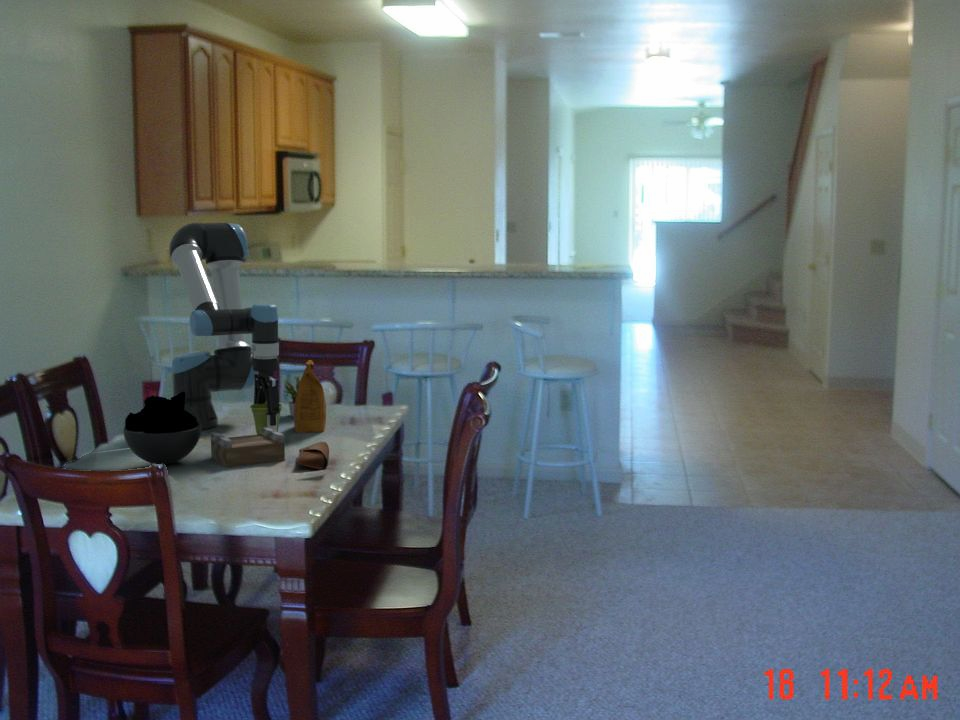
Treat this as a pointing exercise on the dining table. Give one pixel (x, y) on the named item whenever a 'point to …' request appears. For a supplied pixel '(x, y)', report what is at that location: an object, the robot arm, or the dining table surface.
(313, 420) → the brown tall tapered bottle
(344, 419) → the dining table surface
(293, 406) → the house plant
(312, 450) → the sunglasses case
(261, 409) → the plant pot
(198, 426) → the coal bowl
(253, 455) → the raised riser
